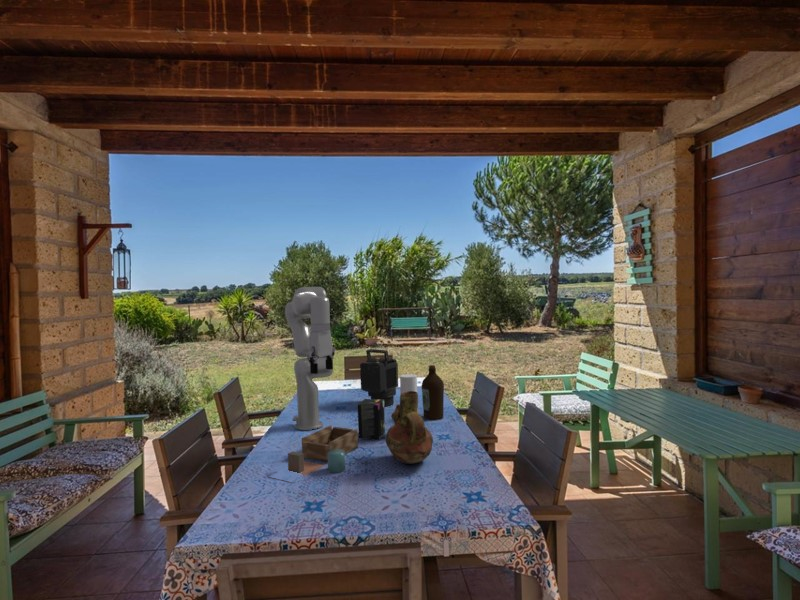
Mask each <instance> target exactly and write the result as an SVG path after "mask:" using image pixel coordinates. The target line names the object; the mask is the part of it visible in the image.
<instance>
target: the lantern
mask: <svg viewBox="0 0 800 600" xmlns="http://www.w3.org/2000/svg"><path fill="white" fill-rule="evenodd" d="M365 352H366V353H365V354H366V359H367V360H365V361H364V362H360V364H359V368H360V369H359V371H360V389H361V390H362V391H363V392H367V395H368V397H370V399H384V408H389V407H392V406H393V404H394V403H395V401H394V400H395V399H394V398H395V397H394V396H396V395H397V388H399V363H398V361H397V359H395V358H390V357H389V351H388V350H386V349H372V348H371V349H367V350H366V351H365ZM371 353H372V354H373V353H374V354H383V355H384V358H383V357H372V356H371V355H372V354H371ZM391 405H392V406H391ZM388 406H389V407H388Z"/></svg>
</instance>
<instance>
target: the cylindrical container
mask: <svg viewBox="0 0 800 600" xmlns="http://www.w3.org/2000/svg"><path fill="white" fill-rule="evenodd" d="M417 377H418V376H417V374H413V373H412V374H411V373H407V374H401V375H399V382H400V383H399V385H400V391H399V392H400V394H401V393H405V392H409V391H415V392H417V393H418V378H417ZM417 411H418V412H419V409H418V410H417Z"/></svg>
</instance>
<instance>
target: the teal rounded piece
mask: <svg viewBox="0 0 800 600" xmlns="http://www.w3.org/2000/svg"><path fill="white" fill-rule="evenodd" d="M327 457H328V463H327V471H328V472H329V473H332V474H337V473H338V474H340V473H343V472H344V471H346V455H345V451H344V450H340V449H336V450H331V451H329V452H328V453H327Z"/></svg>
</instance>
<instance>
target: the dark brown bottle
mask: <svg viewBox="0 0 800 600" xmlns="http://www.w3.org/2000/svg"><path fill="white" fill-rule="evenodd" d="M444 387H445V385H444V380H443V379H442V378H441V377H440V376H439V375H438V374H437V369H436V365H435V364H429V365H428V374H427V375H426V376H425V378H424V379H423V380H422V382H421V396H422V410H423V418H424V420H427V419H429V420H428V421H438V420H437V419H439V420H442V419H444V400H445V399H444V397H445V392H444V391H445V388H444Z"/></svg>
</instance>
